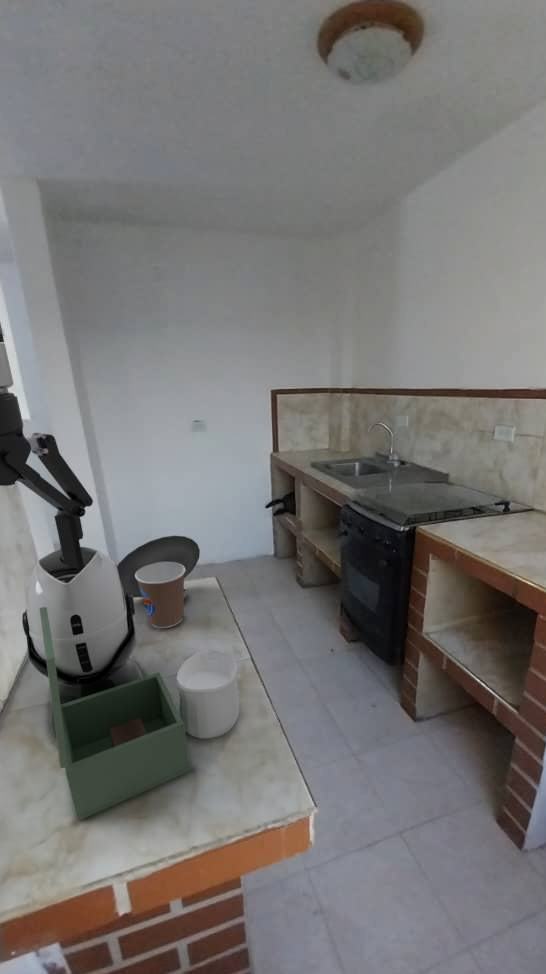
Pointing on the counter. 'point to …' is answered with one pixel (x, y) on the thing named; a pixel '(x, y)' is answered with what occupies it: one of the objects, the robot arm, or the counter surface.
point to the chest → (132, 765)
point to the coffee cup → (162, 592)
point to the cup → (208, 694)
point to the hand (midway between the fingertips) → (21, 589)
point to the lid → (54, 687)
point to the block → (127, 732)
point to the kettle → (81, 624)
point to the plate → (157, 559)
